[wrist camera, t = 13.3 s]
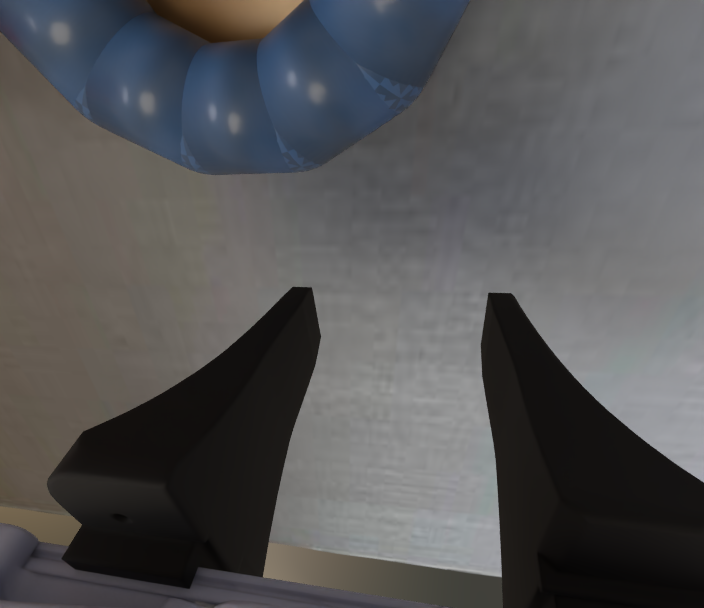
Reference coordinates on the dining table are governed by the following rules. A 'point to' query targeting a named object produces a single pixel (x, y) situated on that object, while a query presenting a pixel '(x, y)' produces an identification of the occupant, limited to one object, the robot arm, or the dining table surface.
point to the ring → (236, 76)
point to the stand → (225, 17)
